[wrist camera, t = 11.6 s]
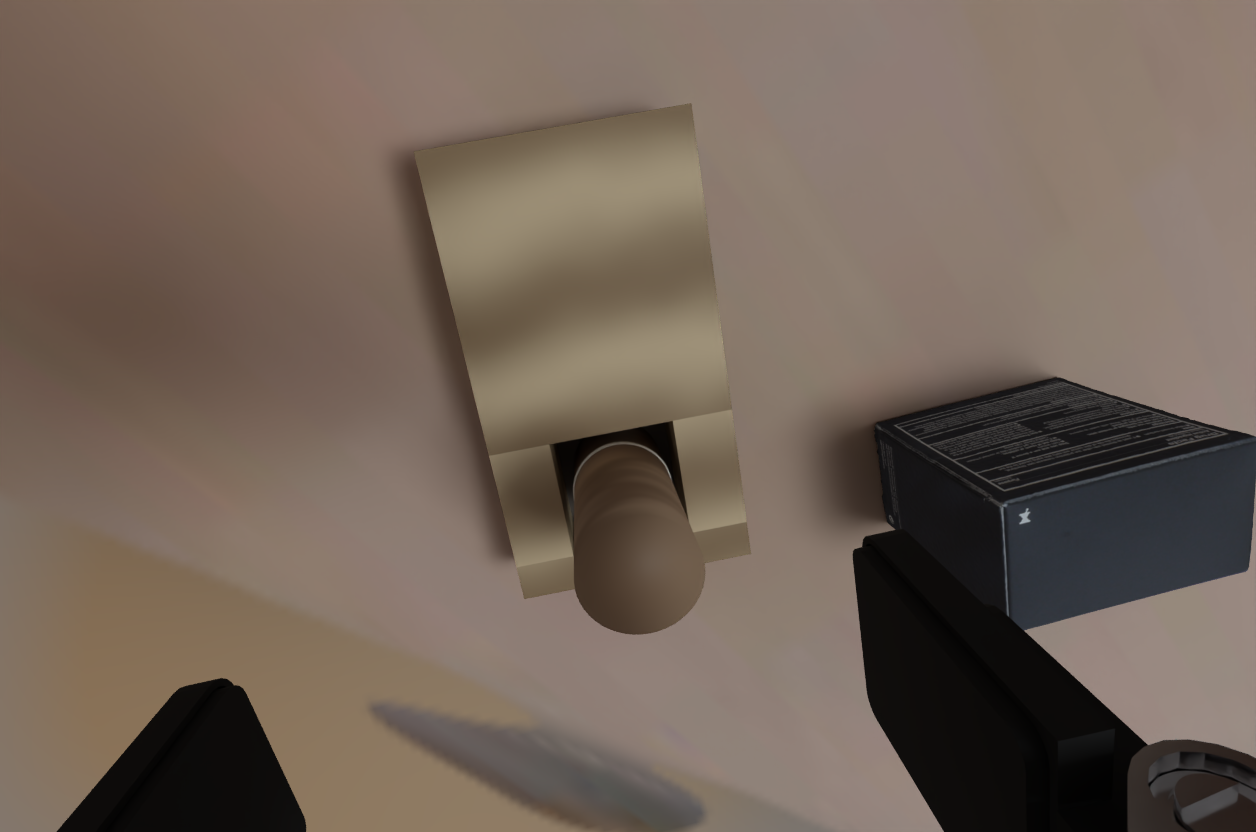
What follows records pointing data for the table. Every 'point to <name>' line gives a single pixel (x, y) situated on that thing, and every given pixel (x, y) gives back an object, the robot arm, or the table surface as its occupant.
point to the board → (588, 319)
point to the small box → (1069, 497)
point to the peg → (631, 536)
